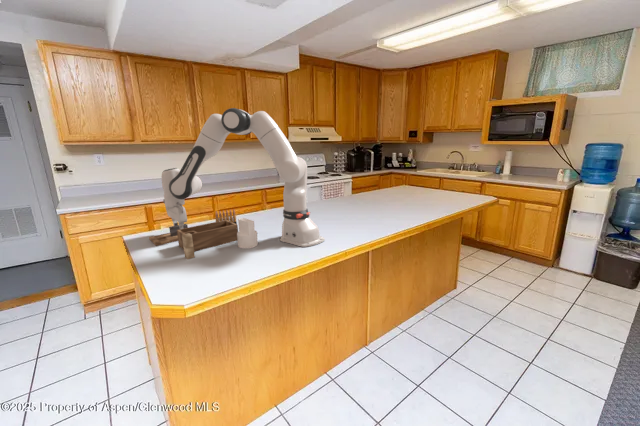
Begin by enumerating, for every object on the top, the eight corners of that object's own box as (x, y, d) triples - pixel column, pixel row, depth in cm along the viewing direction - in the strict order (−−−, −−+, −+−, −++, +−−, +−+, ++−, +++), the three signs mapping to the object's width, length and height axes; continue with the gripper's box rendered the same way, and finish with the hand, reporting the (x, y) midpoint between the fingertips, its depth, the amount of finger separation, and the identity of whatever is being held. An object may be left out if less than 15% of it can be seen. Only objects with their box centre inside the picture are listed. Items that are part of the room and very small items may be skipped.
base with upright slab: (261, 244, 136) (259, 219, 133) (244, 250, 130) (242, 224, 127) (251, 240, 143) (249, 216, 140) (234, 245, 136) (231, 220, 133)
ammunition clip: (217, 233, 153) (214, 211, 150) (216, 232, 155) (214, 210, 152) (237, 230, 158) (235, 209, 155) (237, 229, 160) (235, 208, 157)
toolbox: (238, 240, 143) (237, 224, 141) (187, 253, 127) (185, 235, 125) (227, 234, 152) (226, 219, 150) (179, 246, 136) (176, 229, 134)
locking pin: (192, 255, 125) (189, 233, 123) (194, 257, 123) (191, 234, 121) (184, 257, 123) (181, 234, 121) (187, 259, 121) (184, 236, 119)
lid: (209, 233, 153) (207, 223, 152) (156, 245, 137) (154, 234, 136) (199, 228, 163) (198, 218, 161) (149, 239, 147) (147, 228, 145)
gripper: (188, 203, 140) (192, 230, 144) (175, 197, 155) (178, 222, 158) (174, 205, 136) (178, 233, 139) (162, 199, 151) (166, 225, 154)
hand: (178, 227), depth 149 cm, fingers open, 7 cm apart
